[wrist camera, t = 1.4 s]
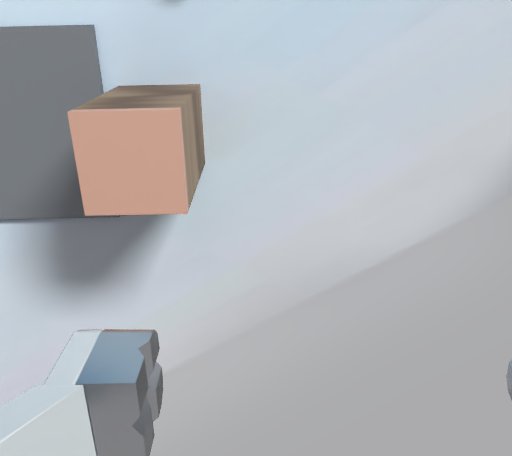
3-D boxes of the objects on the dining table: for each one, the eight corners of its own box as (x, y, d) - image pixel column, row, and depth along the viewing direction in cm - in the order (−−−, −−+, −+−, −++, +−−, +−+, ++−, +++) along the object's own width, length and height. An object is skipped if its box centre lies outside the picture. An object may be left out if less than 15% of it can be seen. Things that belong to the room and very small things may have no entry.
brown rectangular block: (200, 84, 30) (178, 109, 22) (205, 163, 32) (187, 213, 24) (118, 85, 30) (67, 112, 22) (128, 164, 32) (84, 215, 24)
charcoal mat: (94, 24, 29) (91, 24, 28) (120, 214, 34) (119, 217, 33) (-67, 28, 29) (-72, 28, 29) (-18, 217, 34) (-21, 219, 33)
